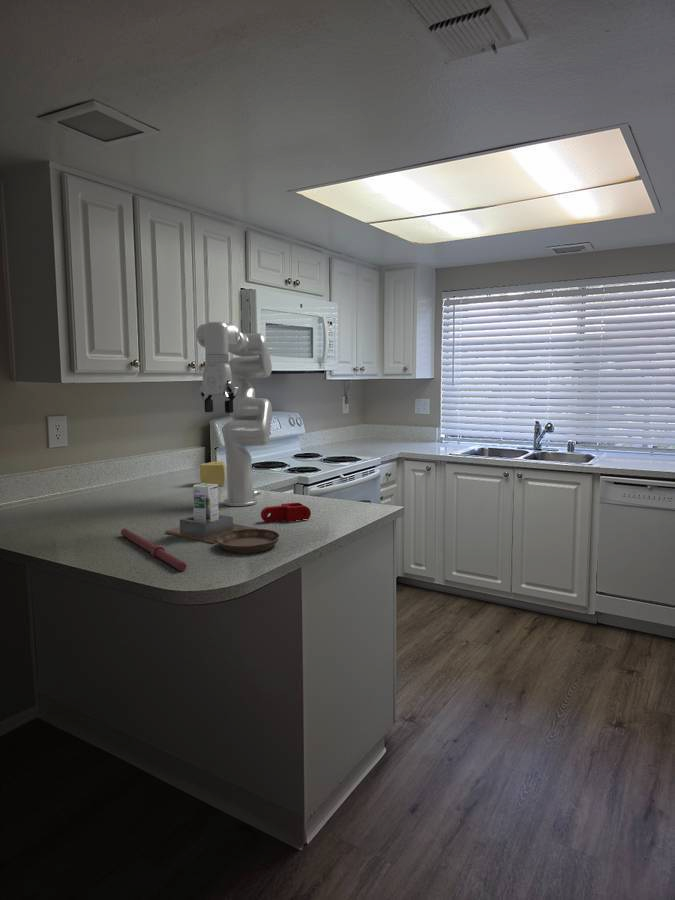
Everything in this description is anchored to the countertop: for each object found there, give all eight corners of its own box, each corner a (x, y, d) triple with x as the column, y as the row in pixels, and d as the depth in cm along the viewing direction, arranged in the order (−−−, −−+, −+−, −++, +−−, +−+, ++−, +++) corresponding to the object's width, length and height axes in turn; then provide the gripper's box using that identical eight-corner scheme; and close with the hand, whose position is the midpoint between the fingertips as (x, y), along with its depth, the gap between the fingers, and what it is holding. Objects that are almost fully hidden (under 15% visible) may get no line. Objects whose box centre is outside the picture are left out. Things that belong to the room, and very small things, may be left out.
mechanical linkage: (303, 516, 214) (303, 501, 214) (310, 520, 208) (310, 505, 207) (259, 520, 208) (258, 506, 208) (265, 525, 202) (264, 510, 201)
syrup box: (193, 532, 190) (191, 485, 188) (204, 527, 195) (202, 482, 194) (209, 533, 188) (207, 486, 186) (220, 529, 193) (218, 483, 192)
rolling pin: (188, 571, 155) (188, 559, 155) (176, 574, 153) (176, 561, 153) (129, 536, 191) (129, 526, 191) (119, 537, 189) (118, 527, 189)
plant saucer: (246, 559, 164) (245, 548, 164) (204, 548, 176) (204, 537, 175) (292, 545, 178) (292, 535, 177) (251, 535, 189) (251, 525, 189)
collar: (209, 521, 207) (209, 507, 206) (257, 530, 194) (257, 515, 193) (165, 533, 193) (165, 517, 192) (214, 543, 179) (213, 527, 179)
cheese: (202, 483, 283) (202, 461, 281) (226, 482, 284) (226, 461, 283) (200, 487, 272) (199, 464, 271) (225, 486, 274) (224, 464, 272)
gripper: (190, 361, 206) (192, 412, 208) (227, 359, 196) (228, 413, 198) (208, 361, 212) (209, 411, 214) (244, 359, 202) (245, 412, 204)
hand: (219, 412), depth 206 cm, fingers open, 9 cm apart
